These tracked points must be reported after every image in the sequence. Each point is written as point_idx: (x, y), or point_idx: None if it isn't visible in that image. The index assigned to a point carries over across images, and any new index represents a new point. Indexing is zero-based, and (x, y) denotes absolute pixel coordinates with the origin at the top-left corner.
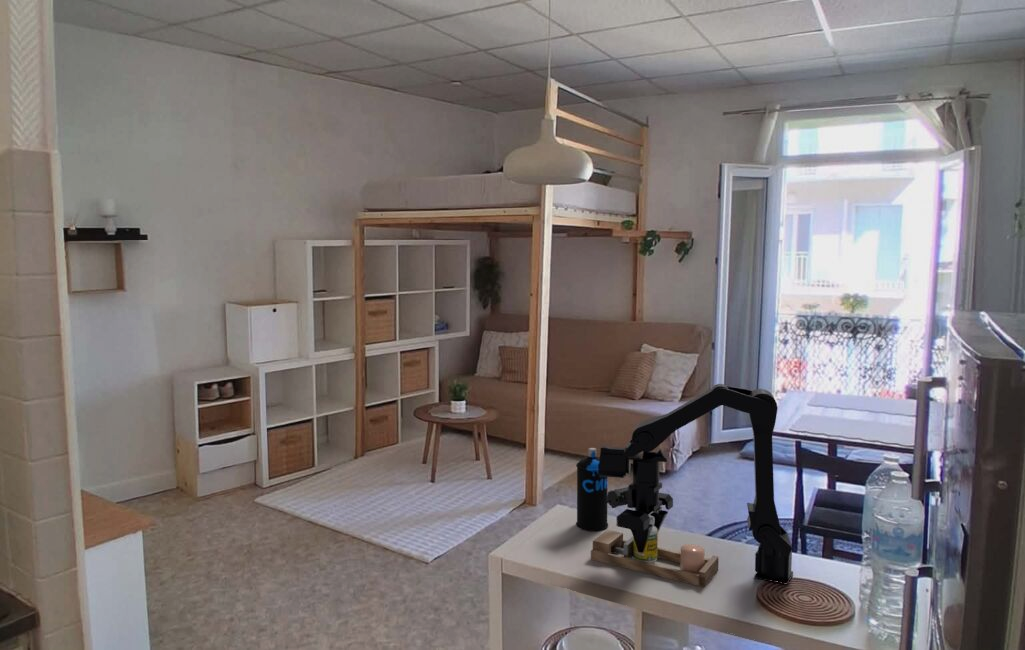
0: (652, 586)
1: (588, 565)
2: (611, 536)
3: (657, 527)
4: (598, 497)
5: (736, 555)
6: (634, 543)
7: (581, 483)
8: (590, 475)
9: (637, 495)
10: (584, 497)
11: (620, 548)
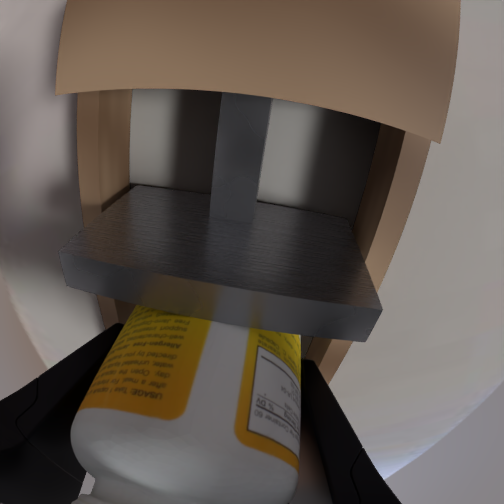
0: (58, 324)
1: (55, 26)
2: (278, 21)
3: (292, 497)
4: None
5: (381, 447)
6: (128, 326)
7: None
8: None
9: None
10: None
11: (251, 132)
